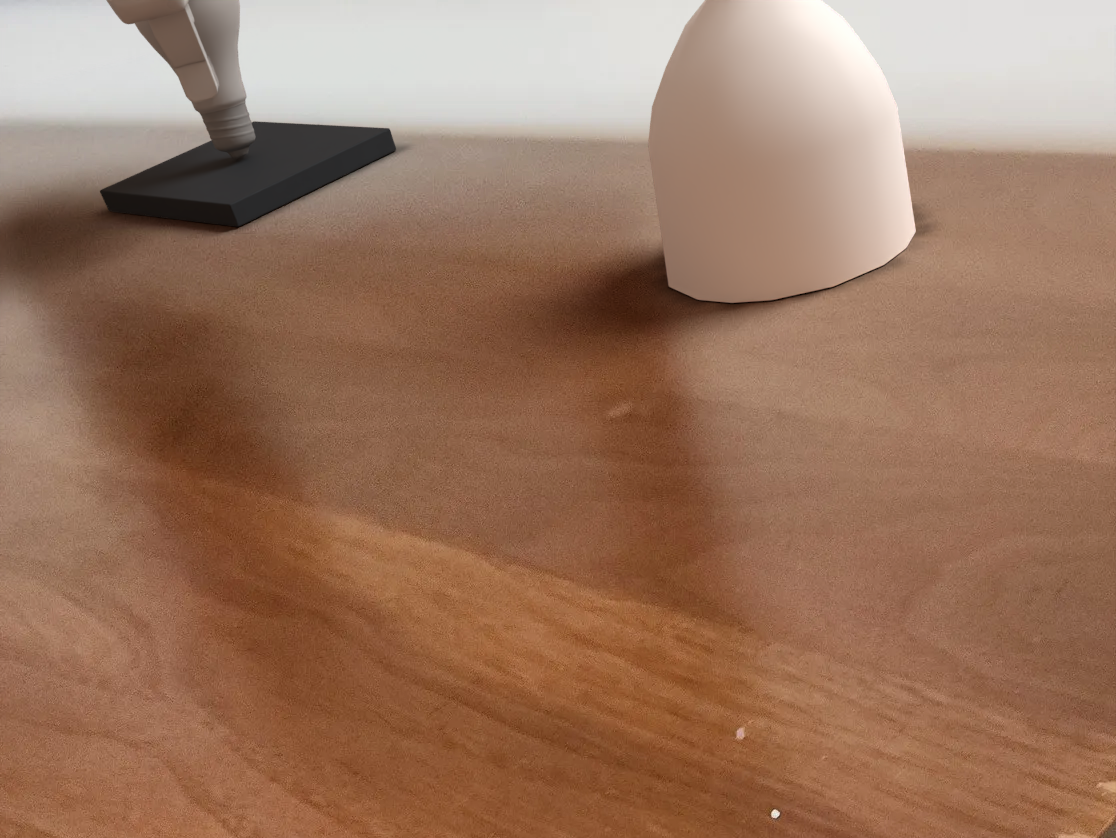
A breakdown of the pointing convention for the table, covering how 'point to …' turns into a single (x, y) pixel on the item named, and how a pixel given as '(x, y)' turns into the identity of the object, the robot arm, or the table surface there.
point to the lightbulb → (219, 74)
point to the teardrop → (775, 154)
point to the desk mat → (248, 173)
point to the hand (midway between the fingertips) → (213, 80)
